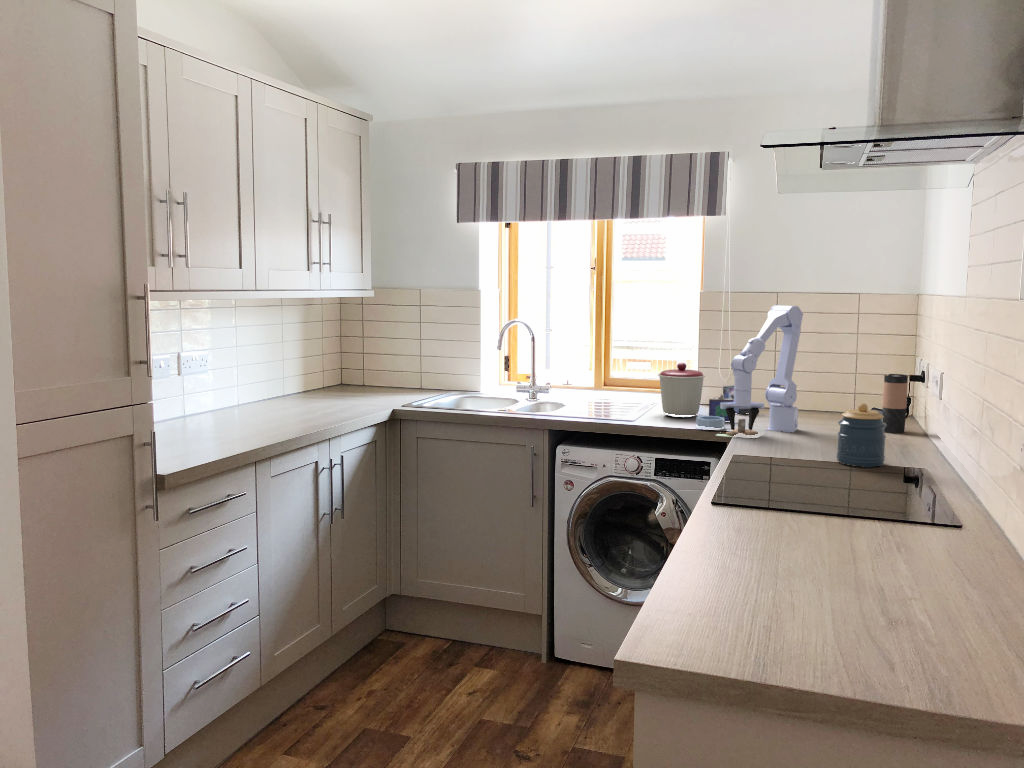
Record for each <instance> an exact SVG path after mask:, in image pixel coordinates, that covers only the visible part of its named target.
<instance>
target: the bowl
mask: <svg viewBox="0 0 1024 768" xmlns="http://www.w3.org/2000/svg"><path fill="white" fill-rule="evenodd" d="M695 417H696V418H695V425H696V424H697V425H698V426H705V427H714V428H722V427H724V428H725V424H726V423H725V418H723V417H718V416H709V415H698V416H695Z"/></svg>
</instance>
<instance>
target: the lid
mask: <svg viewBox="0 0 1024 768" xmlns="http://www.w3.org/2000/svg"><path fill="white" fill-rule="evenodd" d="M737 420H738V421H737V428H735V429H734V430H733V431H731V432H726V435H730V436H734V435H736V434H738V433H743V434H745V435H755V434H758V432H759V431H757V430H753V429H752V430H749V429H746V418H738V419H737ZM729 429H730V430H732V429H731V428H729Z"/></svg>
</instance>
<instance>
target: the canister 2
mask: <svg viewBox="0 0 1024 768" xmlns="http://www.w3.org/2000/svg"><path fill="white" fill-rule="evenodd" d="M868 408H869V407H868V405H867V403H864V402H862V403H859V404H858V405H857V408H855V409H854V408H852V409H847V410H846V411H845V412H842V414H841V416H842V419H841V420H839V421H838V422H837V423H838V425H839V430H838V432H837V453H836V458H837V459H836V460H837V462H838V461H839V462H841V463H844V464H849V465H855V466H864V467H863V468H877V467H876V466H880V467H882V466H884V463H885V461H886V459H885V458H886V456H885V449H886V448H885V447H886V438H887V435H886V434H885V432H884V428H885V427H886V426H887V425H886V423H884V422H883V421H882V418H884V416H883V415H882V414H881V413H880V412H879V411H878V410H873V409H868ZM839 462H838V463H839ZM841 463H840V464H841ZM844 464H843V465H844ZM873 466H874V467H873Z"/></svg>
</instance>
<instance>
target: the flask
mask: <svg viewBox="0 0 1024 768" xmlns="http://www.w3.org/2000/svg"><path fill="white" fill-rule="evenodd" d="M708 402H709V403H708V416H718V417H723V418H725V421H729V418H728V415H727V413H726V411H725V409H721V408H720V403H726V402H734V399H724V395H723V393H722V394H720V396H718V397H712V398H709V399H708Z"/></svg>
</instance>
